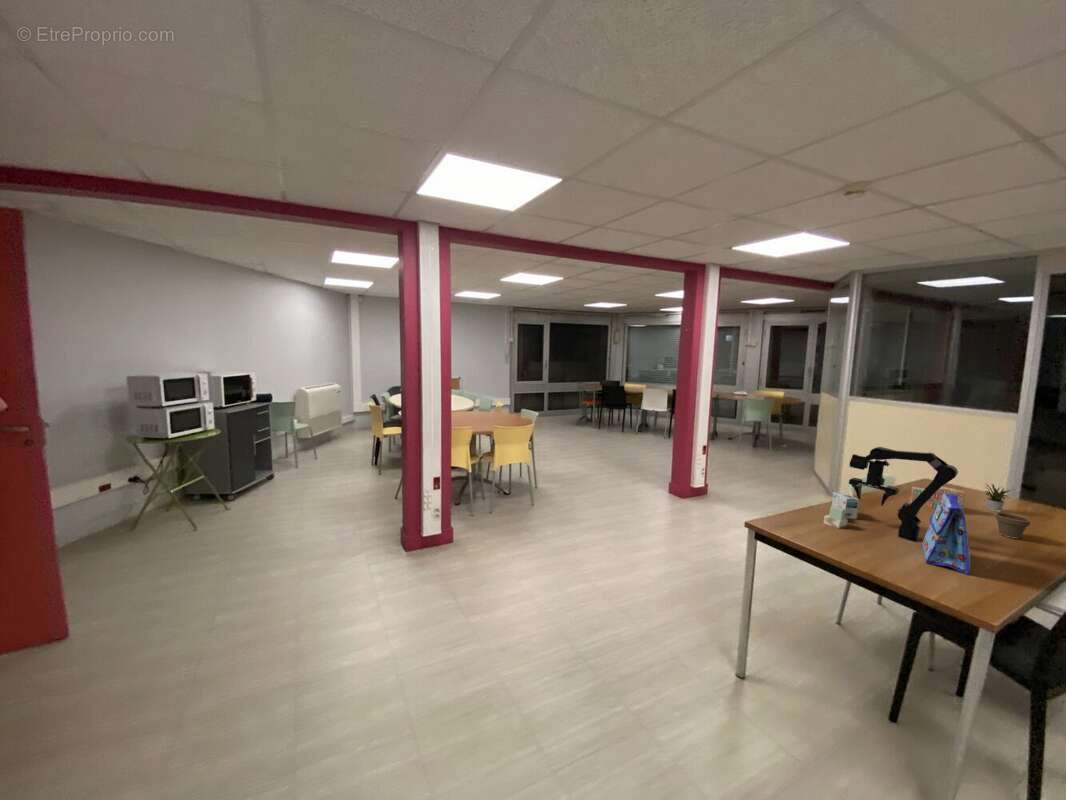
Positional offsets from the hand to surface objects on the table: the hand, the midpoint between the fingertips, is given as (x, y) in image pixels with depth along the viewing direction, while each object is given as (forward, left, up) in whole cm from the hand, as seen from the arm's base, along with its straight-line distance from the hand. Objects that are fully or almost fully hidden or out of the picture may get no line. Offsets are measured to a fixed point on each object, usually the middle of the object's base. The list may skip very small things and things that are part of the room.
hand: (870, 502), depth 211 cm
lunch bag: (-31, +14, -12) cm, 36 cm away
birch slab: (+9, +14, -12) cm, 21 cm away
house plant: (-31, -98, -12) cm, 104 cm away
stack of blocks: (-12, -72, -12) cm, 74 cm away
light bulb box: (+12, -6, -12) cm, 18 cm away
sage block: (+9, +14, -8) cm, 19 cm away
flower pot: (-43, -51, -12) cm, 68 cm away
